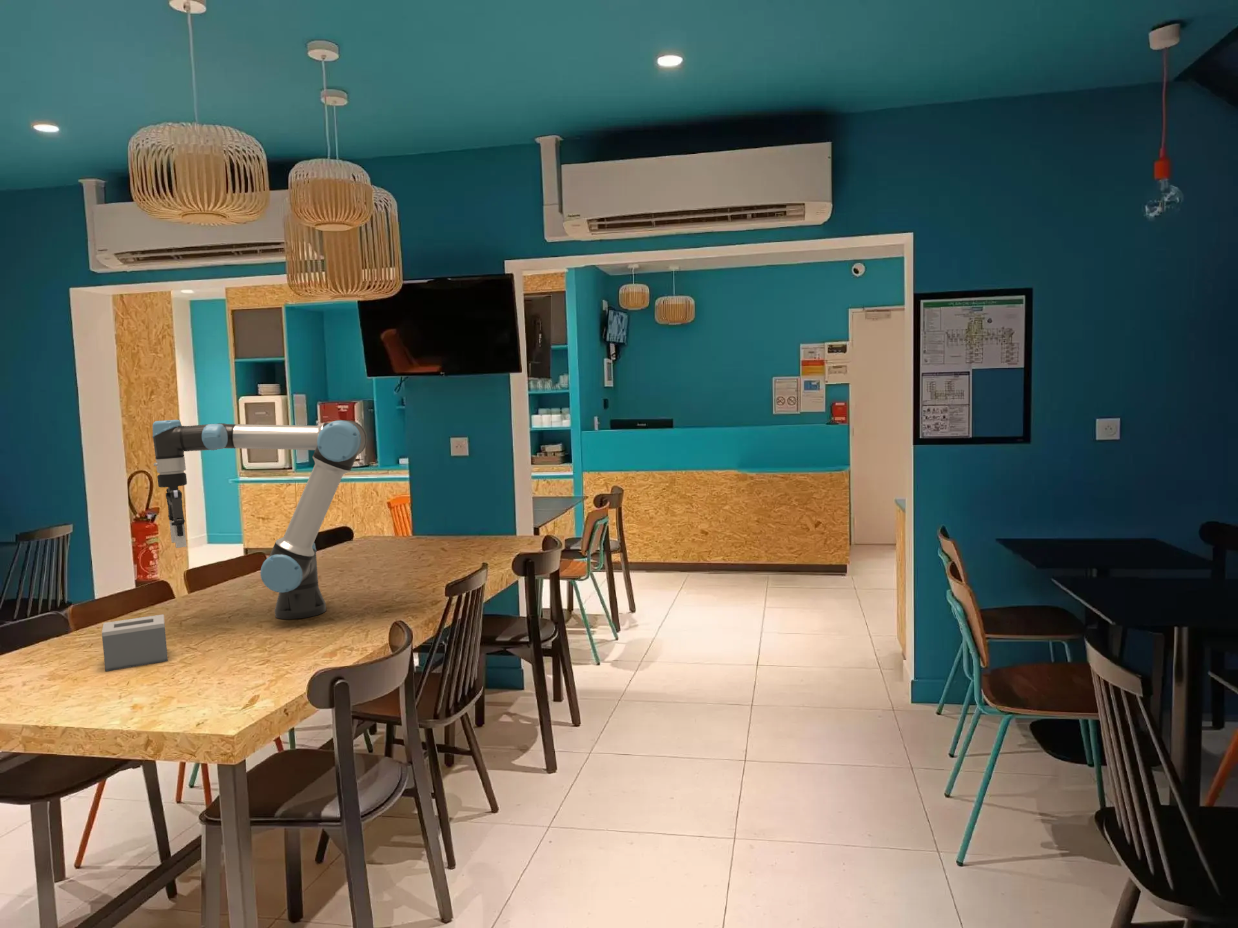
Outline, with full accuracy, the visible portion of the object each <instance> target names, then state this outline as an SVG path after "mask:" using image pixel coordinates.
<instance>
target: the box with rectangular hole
mask: <svg viewBox="0 0 1238 928" xmlns="http://www.w3.org/2000/svg"><path fill="white" fill-rule="evenodd" d="M165 624H166V623H165V615H164V614H156V615H149V616H143V617H142V616H141V617H136V618H130V619H129V618H128V619H123V620H122V619H121V620H115V621H107V622H103V624H102V625H103V626H102V630H101V637H102V639H101V640H102V649H103V659H104V660H103V661H104V670H105V672H110V671H111V672H112V671H117V670H122V669H128V668H134V667H140V666H145V665H146V666H147V665H152V664H153V665H154V664H158V663H165V662H168V661H169V659H168V647H167V637H166V625H165Z"/></svg>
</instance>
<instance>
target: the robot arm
mask: <svg viewBox="0 0 1238 928" xmlns="http://www.w3.org/2000/svg"><path fill="white" fill-rule="evenodd" d="M152 439H153V447H154V448H153V450H154V456H155V461H156V462H154V463H153V466H154V467H156V472H157V474H158V475H157V477H156V478H157V487H159V488H166V491H165V492H166V493H165V498H166V499H165V500H166V504H167V511H168V516H167V517H168V520H169V522H168V523H169V529H170V531H169V532H170V538H171V540H170V541H171V544H172V543H175V548H176V549H179V548H187V538H186V535H187V534H186V527H185V522H186V521H185V516H184V510H183V493H182V491H181V490H180V489H179V487H182V486H186V485H187V484H188V481H187V473H186V472H185V471H186V470H187V468H186V459H185V458H186V457H185V452H197V451H199V452H200V451H216V450H223V449H235V450H236V449H246V450H248V449H251V450H293V451H294V450H298V451H299V450H300V451H314V453H313V455H312V459H313V461H314V465H313V468H312V470H311V472H310V475H309V477H308V480H307V482H306V485H305V486H304V489H303V491H302V493H301V495H300V498H299V500H298V503H297V504H296V507H295V509H294V512H293V514H292V516H291V519H290V520H289V523H288V526H287V528H286V530H285V533H284V535H283V537H281V538H279V539H276V540H275V543H274V545H273V547H272V548H271V551H270V554H269V556H268V557H267V558H266V559H265V560H264V561H263V562H262V565H261V568H260V574H259V575H260V578H261V581H262V582H263V584H264V586H265V588H267V589H269V590H270V591H273V592H274V593H278V595H277V600H276V603H275V608H274V617H275V618H276V619H282V620H296V619H297V620H298V619H303V618H304V619H305V618H311V617H315V616H319V615H321V614H323V613H325V612H326V611H327V605H326V601H325V599H324V597H323V595H322V593H321V590H320V586H319V577H318V562H317V561H318V560H317V548H316V543H315V540H316V538H317V537H318V535H319V531H320V529H321V527H322V524H323V522H324V520H325V517H326V515H327V513H328V511H329V508H330V506H331V504H332V502H333V499H334V496H335V495H336V492H337V490H338V487H339V485H340V483H341V480H342V478H343V476H344V475H345V474H347V473H350V472H351V471H352V468H353V466H354V464H355V462H356V458H357V457H358V456H359V455H360V454H362V453H363V451H364V450H365V449H366V447H367V443H368V435H367V432H366V430H365V429H364V427H363V426H362V425H361V424H359V423H358V422H357V421H353V420H347V419H346V420H345V419H344V420H343V419H342V420H334V421H331V422H323V423H321V425H300V424H298V425H296V424H295V425H293V424H291V425H290V424H285V425H284V424H244V423H243V424H242V423H241V424H239V423H238V424H237V423H236V424H234V423H222V422H221V423H220V422H219V423H209V424H194V425H182V421H181V420H179V419H169V420H167V419H165V420H155V421H154V422H153V423H152Z"/></svg>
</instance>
